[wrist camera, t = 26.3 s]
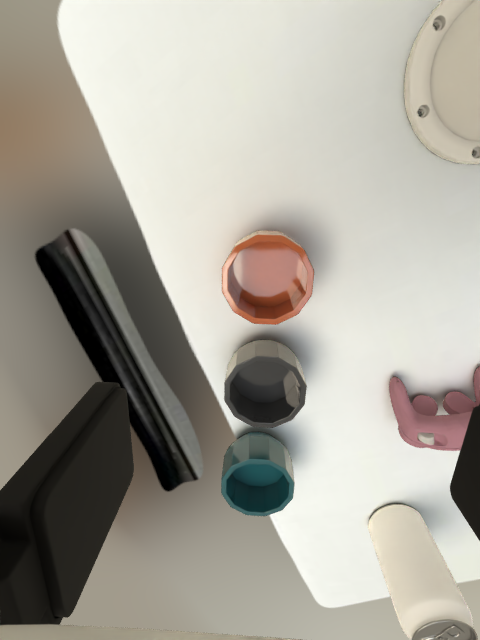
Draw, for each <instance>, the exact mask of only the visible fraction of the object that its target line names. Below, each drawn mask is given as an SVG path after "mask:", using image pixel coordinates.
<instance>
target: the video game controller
mask: <svg viewBox="0 0 480 640" xmlns="http://www.w3.org/2000/svg"><path fill="white" fill-rule="evenodd" d="M389 391H390V398H391V403H392V406H393V410H394V413H395V416H396V419H397V422H398V425H399V426H398V430H399V433H400V436H401V437H402V439H403V440H404V441H405V442H407V443H408V444H410V445H412V446H415V447H419V448H425V447H427V448H431V449H437V450H448V451H455V450H461V447H462V444H463V440H464V437H465V434H466V430H467V427H468V424H469V420H470V417H471V413H472V410H473V408H474V407H476V406H479V404H480V367H478V368H477V369H476V372H475V374H474V391H475V398H476V401H475V402H474V401H472V400H471V399H469V398H468V397H467V396H466V395H464V394H463V393H461V392H456V391H454V392H450V393H448V394H447V395H446V397H445V398H444V401H443V408H444V409H445V411H446V412H448V413H449V414H450V415H440V416H435V415H436V413H437V410H438V406H437V403H436V402H435V400H434V399H433V398H431V397H429V396H425V395H419V396H416V397H415V398H414V400H413V402H412V404H411V402H410V400H409V397H408V394H407V391H406V388H405V386H404V384H403V383H402V381H401V380H400V379H399V378H397V377H393V378H392V379H391V380H390V384H389Z"/></svg>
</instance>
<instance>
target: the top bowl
mask: <svg viewBox="0 0 480 640" xmlns="http://www.w3.org/2000/svg"><path fill="white" fill-rule="evenodd" d="M294 484H295V483H294V476H293V468H292V460H291V457H290V455H289V452H288V450H287V449H286V447H285V446H284V445H283V444H282V443H281V442H280V441H278V440H277V439H275V438H274V437H273V436H271V435H269V434H267V433H263V432H251V433H247V434H245V435H243V436H242V437H240V438H239V439H237V440H236V441H234V442H233V443H232V444H231V445H230V446H229V448H228V450H227V452H226V454H225V456H224V464H223V472H222V483H221V487H222V488H221V493H222V495H223V497H224V498H225V499H226V501H227V502H228V504H229V505H230V507H232V508H234V509H236V510H238V511H240V512H242V513H243V514H245V515H254V516H267V515H270V514H273V513H276V512H278V511H281V510H283V509H284V508H285V506H286V505H287V504H288V503H289V502H290V501H291V500H292V499H293V493H294Z"/></svg>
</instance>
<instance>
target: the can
mask: <svg viewBox="0 0 480 640" xmlns="http://www.w3.org/2000/svg"><path fill="white" fill-rule="evenodd" d="M368 529H369V533H370V536H371V539H372V542H373V545H374V548H375V551H376V554H377V557H378V560H379V563H380V566H381V569H382V572H383V575H384V578H385V581H386V584H387V587H388V590H389V593H390V596H391V599H392V602H393V605H394V608H395V611H396V614H397V617H398V620H399V623H400V625H401V627H402V630H403V631H404V633H405V634H406V636H407V637H408V638H409V639H410V640H478V638H477V634H476V632H475V630H474V629H473V620H472V615H471V612H470V610H469V608H468V606H467V604H466V601H465V600H464V598H463V596H462V594H461V592H460V590H459V588H458V586H457V584H456V582H455V580H454V578H453V576H452V574H451V572H450V570H449V568H448V566H447V564H446V562H445V560H444V558H443V556H442V555H441V553H440V551H439V549H438V547H437V545H436V543H435V541H434V539H433V537H432V535H431V533H430V531H429V529H428V528H427V526H426V524H425V522H424V520H423V518H422V516H421V515H420V513H419V512H418V511H416V510H415V509H413V508H411V507H409V506H407V505H403V504H390V505H386V506H384V507H381V508H380V509H378V510H377V511H376V512H375V513H374V514H373V515H372V517H371V518H370V520H369V524H368Z"/></svg>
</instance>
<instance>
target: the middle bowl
mask: <svg viewBox="0 0 480 640" xmlns="http://www.w3.org/2000/svg"><path fill="white" fill-rule="evenodd" d="M313 279H314V269H313V267H312V265H311V263H310V261H309V259H308V257H307V255H306V253H305V250H304V249H303V248H302V247H301V246H300V245H299V243H297V242H296V241H294V240H293V239H291V238H290V237H288V236H287V235H285V234H283V233H282V232H280V231H269V230H267V231H255V232H254V233H252V234H249V235H247V236H246V237H244V238H243V239H241V240H239V241H238V242H237V243H236V244H235V246H234V248H233V249H232V251H231V253H230V254H229V256H228V258H227V259H226V261H225V263H224V265H223V268H222V293H223V294H224V296H225V298H226V300H227V301H228V303H229V305H230V307H231V308H232V310H233V311H234V312H235V313H236V314H238V315H240V316H241V317H243V318H245V319H246V320H248V321H250V322H251V323H254V324H275V325H276V324H279V323H281V322H283V321H285V320H287V319H289V318H291V317H293V316H296V315H297V314H299V312H300V311H301V309H302V308H303V307H304V305H305V304H306V302H307V301H308V300H309V298H310V297H311V295H312V289H313Z"/></svg>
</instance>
